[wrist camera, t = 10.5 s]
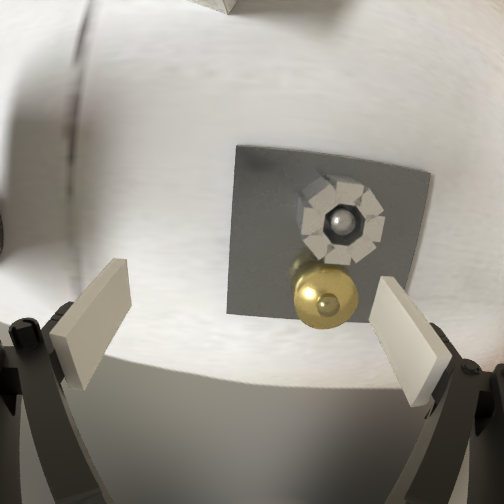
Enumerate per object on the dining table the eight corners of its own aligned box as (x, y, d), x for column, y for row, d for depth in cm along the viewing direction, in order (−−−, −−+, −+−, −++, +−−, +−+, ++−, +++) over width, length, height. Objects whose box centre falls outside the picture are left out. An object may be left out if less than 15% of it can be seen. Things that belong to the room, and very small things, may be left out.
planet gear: (293, 242, 35) (297, 260, 31) (301, 170, 32) (307, 178, 28) (361, 249, 35) (374, 267, 31) (373, 180, 32) (390, 189, 28)
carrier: (227, 308, 40) (221, 338, 35) (237, 145, 33) (231, 148, 27) (390, 318, 40) (405, 345, 34) (426, 171, 33) (452, 181, 27)
